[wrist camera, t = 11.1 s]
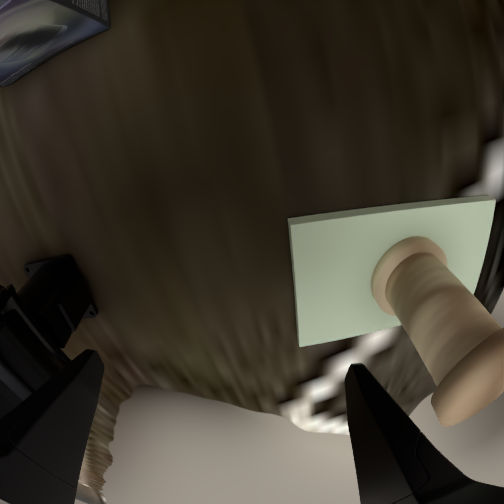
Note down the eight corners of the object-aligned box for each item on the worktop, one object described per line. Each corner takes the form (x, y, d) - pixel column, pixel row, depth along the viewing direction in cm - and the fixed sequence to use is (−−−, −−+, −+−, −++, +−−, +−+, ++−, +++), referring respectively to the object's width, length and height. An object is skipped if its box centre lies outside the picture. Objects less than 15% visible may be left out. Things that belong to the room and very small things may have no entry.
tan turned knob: (381, 320, 24) (438, 436, 13) (360, 262, 21) (441, 400, 10) (443, 283, 23) (518, 380, 12) (433, 221, 20) (542, 321, 8)
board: (297, 337, 26) (299, 347, 25) (287, 218, 20) (290, 225, 19) (465, 296, 26) (470, 303, 25) (487, 195, 20) (495, 199, 19)
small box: (8, 92, 14) (-88, 111, 4) (3, 31, 11) (-83, 29, 1) (113, 31, 13) (19, -7, 4) (106, -33, 10) (33, -87, 1)
